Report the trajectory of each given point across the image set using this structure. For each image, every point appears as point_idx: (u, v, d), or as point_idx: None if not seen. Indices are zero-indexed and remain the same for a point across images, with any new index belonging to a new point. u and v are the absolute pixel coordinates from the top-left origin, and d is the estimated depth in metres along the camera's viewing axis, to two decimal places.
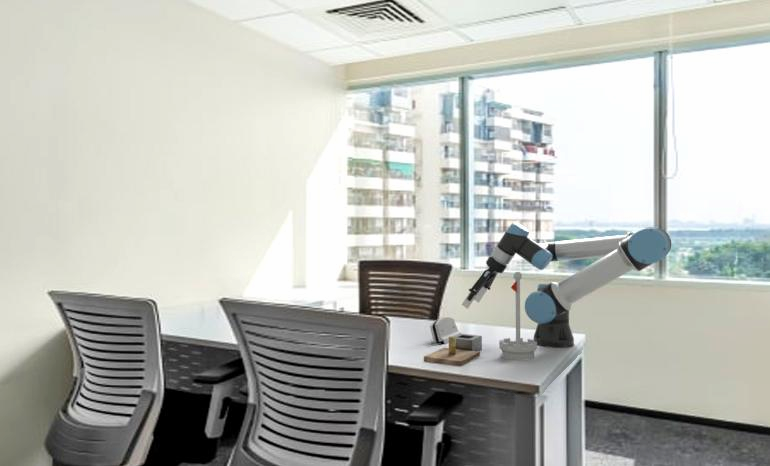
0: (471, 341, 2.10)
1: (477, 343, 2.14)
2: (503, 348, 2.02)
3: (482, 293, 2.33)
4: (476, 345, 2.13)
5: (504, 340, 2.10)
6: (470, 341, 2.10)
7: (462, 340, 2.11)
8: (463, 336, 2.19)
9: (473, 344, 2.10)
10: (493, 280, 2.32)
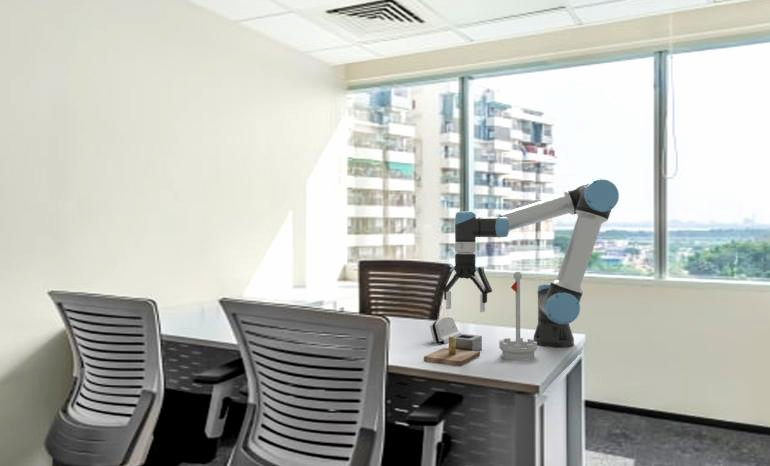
0: (471, 341, 2.10)
1: (477, 343, 2.14)
2: (503, 348, 2.02)
3: (450, 297, 2.19)
4: (476, 345, 2.13)
5: (504, 340, 2.10)
6: (470, 341, 2.10)
7: (462, 340, 2.11)
8: (463, 336, 2.19)
9: (473, 344, 2.10)
10: None
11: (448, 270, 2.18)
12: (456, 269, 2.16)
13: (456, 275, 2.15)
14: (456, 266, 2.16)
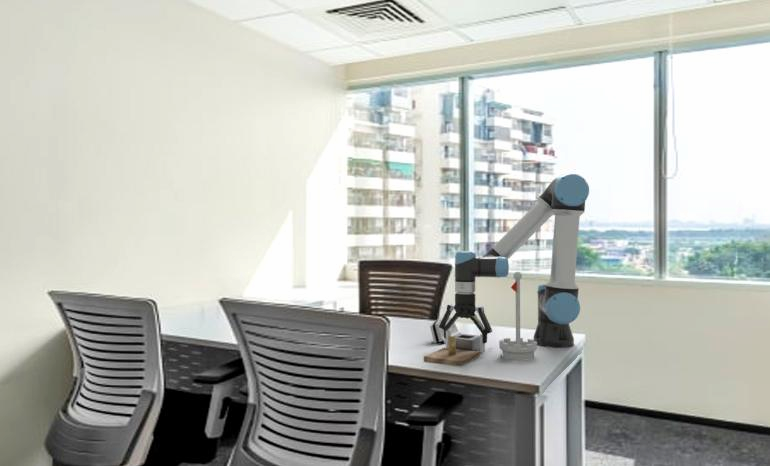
0: (471, 341, 2.10)
1: (477, 343, 2.14)
2: (503, 348, 2.02)
3: None
4: (476, 345, 2.13)
5: (504, 340, 2.10)
6: (470, 341, 2.10)
7: (462, 340, 2.11)
8: (463, 336, 2.19)
9: (473, 344, 2.10)
10: None
11: (448, 309, 2.18)
12: (456, 308, 2.16)
13: (456, 315, 2.15)
14: (456, 305, 2.16)
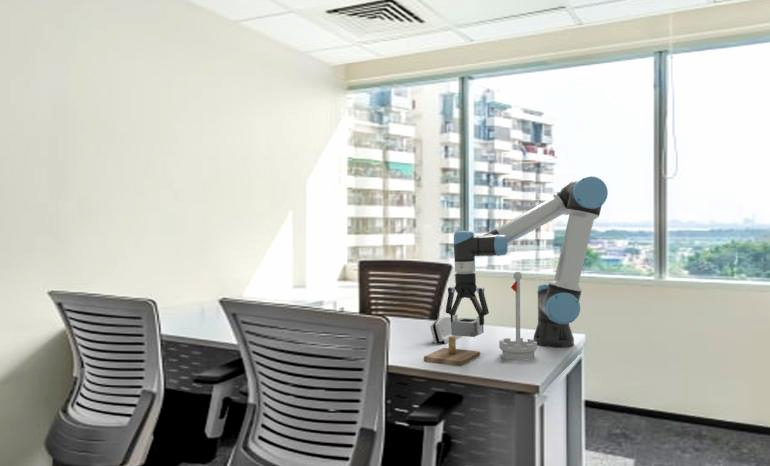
0: (473, 324, 2.09)
1: None
2: (503, 348, 2.02)
3: None
4: None
5: (504, 340, 2.10)
6: (472, 324, 2.10)
7: (464, 323, 2.11)
8: (464, 320, 2.19)
9: (475, 327, 2.10)
10: None
11: (449, 292, 2.17)
12: (457, 289, 2.16)
13: (458, 296, 2.15)
14: (456, 286, 2.16)
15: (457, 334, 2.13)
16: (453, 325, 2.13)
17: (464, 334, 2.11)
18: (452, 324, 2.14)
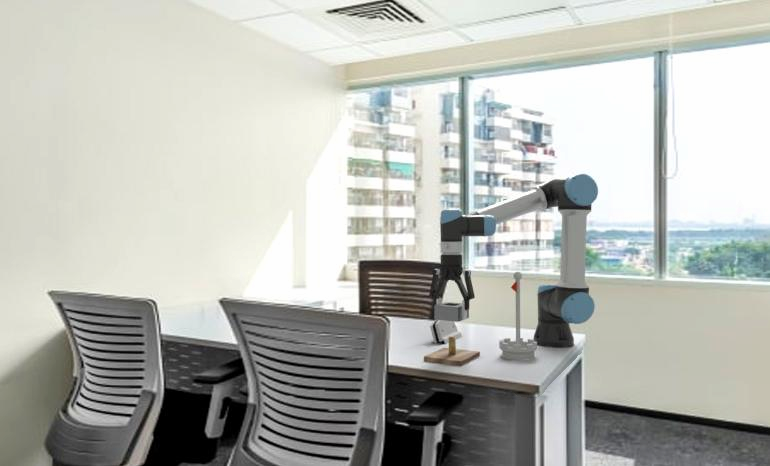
0: (457, 308, 1.97)
1: None
2: (503, 348, 2.02)
3: None
4: None
5: (504, 340, 2.10)
6: (456, 308, 1.97)
7: (447, 307, 1.99)
8: (449, 304, 2.06)
9: (459, 311, 1.98)
10: None
11: (434, 274, 2.05)
12: (442, 271, 2.03)
13: (443, 278, 2.02)
14: (441, 268, 2.03)
15: (440, 318, 2.00)
16: (436, 309, 2.01)
17: (448, 318, 1.99)
18: (435, 308, 2.01)
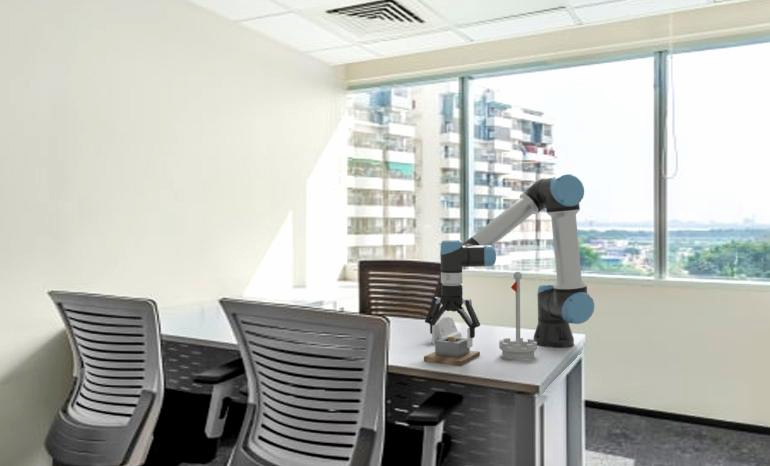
0: (458, 345, 1.97)
1: (465, 347, 2.01)
2: (503, 348, 2.02)
3: (436, 331, 2.07)
4: (463, 349, 2.00)
5: (504, 340, 2.10)
6: (457, 345, 1.97)
7: (448, 343, 1.99)
8: None
9: (460, 348, 1.98)
10: None
11: (434, 302, 2.05)
12: (442, 301, 2.03)
13: (442, 308, 2.03)
14: (442, 298, 2.04)
15: (441, 354, 2.00)
16: (437, 345, 2.01)
17: (448, 355, 1.99)
18: (436, 343, 2.01)
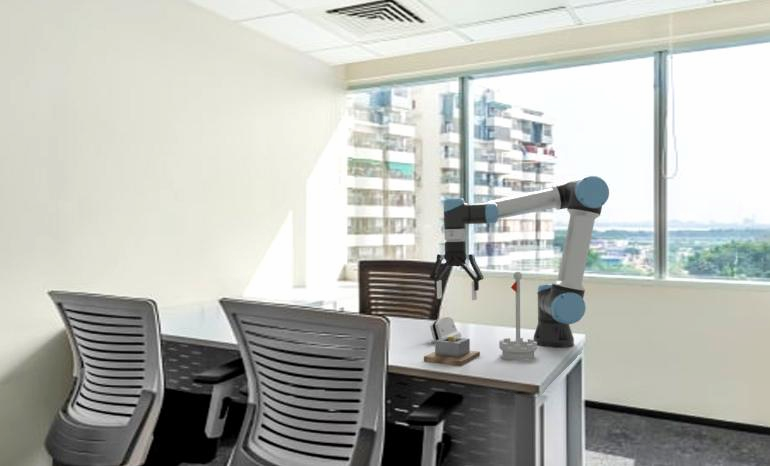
0: (458, 345, 1.97)
1: (465, 347, 2.01)
2: (503, 348, 2.02)
3: (440, 286, 2.15)
4: (463, 349, 2.00)
5: (504, 340, 2.10)
6: (457, 345, 1.97)
7: (448, 343, 1.99)
8: None
9: (460, 348, 1.98)
10: None
11: (438, 259, 2.13)
12: (446, 257, 2.12)
13: (446, 263, 2.11)
14: (446, 254, 2.12)
15: (441, 354, 2.00)
16: (437, 345, 2.01)
17: (448, 355, 1.99)
18: (436, 343, 2.01)
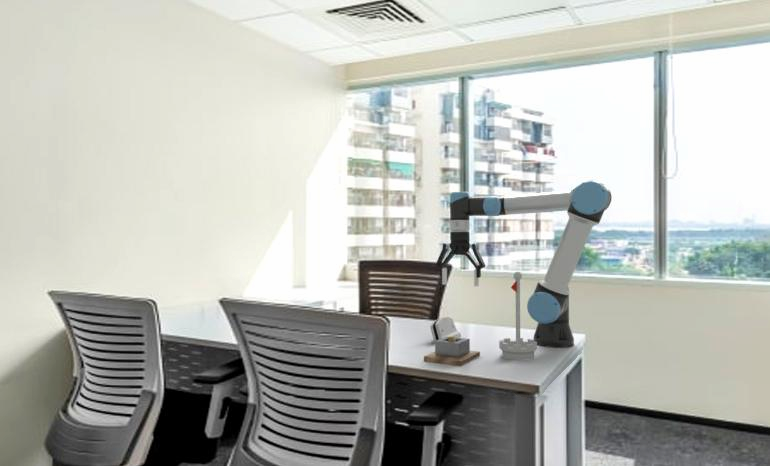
0: (458, 345, 1.97)
1: (465, 347, 2.01)
2: (503, 348, 2.02)
3: (446, 273, 2.32)
4: (463, 349, 2.00)
5: (504, 340, 2.10)
6: (457, 345, 1.97)
7: (448, 343, 1.99)
8: None
9: (460, 348, 1.98)
10: None
11: (444, 247, 2.30)
12: (451, 246, 2.29)
13: (451, 252, 2.28)
14: (451, 243, 2.29)
15: (441, 354, 2.00)
16: (437, 345, 2.01)
17: (448, 355, 1.99)
18: (436, 343, 2.01)
